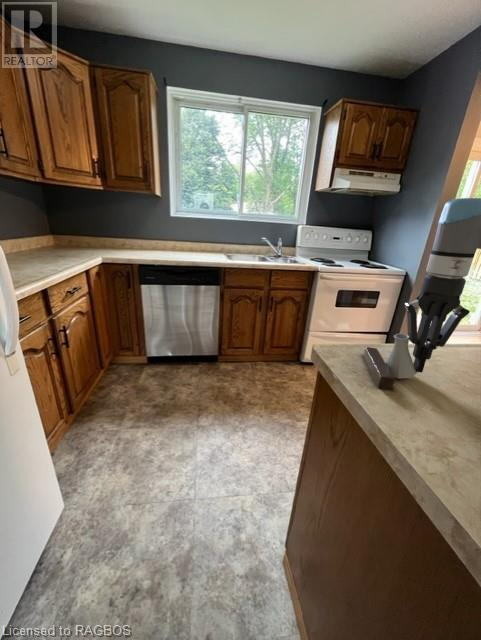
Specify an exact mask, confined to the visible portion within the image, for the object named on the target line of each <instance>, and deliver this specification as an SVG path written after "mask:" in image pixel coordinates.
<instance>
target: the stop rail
mask: <svg viewBox="0 0 481 640" xmlns="http://www.w3.org/2000/svg"><path fill="white" fill-rule="evenodd" d="M363 358H364V361H365V363H366V365H367V367H368V369H369V371H370V374H371V375H372V377H373V380H374V382H375V385H376V386H377V388H380V389H385V390H386V389H387V390H393V386H394V383H395V380H396V378H395V377H394V376H393V375H392V373H391V371H390V370H389V368H388V366H387V365H386V361H385V360H384V358H383V356H382V354H381V353H380V351H379V350H378V348H377V347H368V346H365V348H364V352H363Z"/></svg>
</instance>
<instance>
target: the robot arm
mask: <svg viewBox="0 0 481 640" xmlns="http://www.w3.org/2000/svg"><path fill="white" fill-rule="evenodd" d="M431 248H432V249H431V251H430V255H429V258H428V262H427V265H426V269H425V272H426V274H424V276H423V279H422V283H421V287H420V293H419V294H418V295H417V296H416V299H414V300H413V301H411V302H408V301H405V303H404V304H403V307H404V309H405V311H406V318H407V319H406V320H407V321H406V322H407V335H408V336H409V337H410V339H408V341H409V342H410V343H412V344H413V345H414V347H413V350H412V356H413V358H414V359H413V360H414V361H413V364H414V366H415V369H416V371H417V373H423V372H424V368H425V365H426V363H427V360H430V359H431V358H432V356H433V355H432V354H433V351H435V350H437V348H438V347H440V348H442V347H445V345H446V344H447V342H448V341H449V339H450V338H451V336H452V335H453V333H454V332H455V330H456V329H457V328H458V326H459V324H460V323H461V321H462V320H463V319H464V318H465V317H466V316H468V315H469V314H470V310H469V309H467V308H466V307H464V306H462V305H461V295H462V294H463V292H464V289H465V286H466V282H467V280H466V278H465V277H468V276H469V273H470V271H471V270H470V269H471V266H472V263H473V260H474V258H475V255H476V252H477V251H478V250H481V197H464V198H463V197H460V198H453V199H452V198H451V199H450V200H448V201H447V202H445V204H444V206H443V209H442V210H441V214H440V216H439V220H438V222H437V229H436V232H435V236H434V242H433V244H432V247H431ZM418 309H419V310H420V311H421V313H420V321H419V324H418V315H417V311H418ZM449 314H450V315H449ZM448 315H449V316H448ZM447 317H448V318H447Z"/></svg>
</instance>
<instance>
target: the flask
mask: <svg viewBox="0 0 481 640" xmlns="http://www.w3.org/2000/svg"><path fill="white" fill-rule="evenodd" d="M393 338H394V344H393V347H392V350H391V352H390V354H389V356H388V358H387V359H386V361H385V363H386V365H387V366H388V368H389V370H390V371H391V373H392V375H393V376H394V378H395V379H398V380H399V379H411V378H413V377H414V376H416V375H417V374H418V372H417V371H416V369H415V366H414V361H413V359H412V356H411V354H410V349H409V339H410V337H409V336H408V334H406V333H395V334H394V335H393Z"/></svg>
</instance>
